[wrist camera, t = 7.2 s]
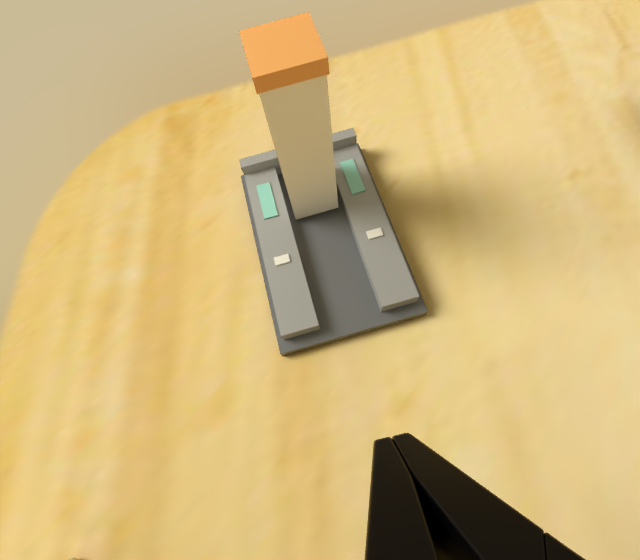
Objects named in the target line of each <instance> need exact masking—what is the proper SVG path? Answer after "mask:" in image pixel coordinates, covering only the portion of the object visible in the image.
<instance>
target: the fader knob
mask: <svg viewBox="0 0 640 560" xmlns="http://www.w3.org/2000/svg"><path fill="white" fill-rule="evenodd" d="M239 32H240V36H241V39H242V43H243V47H244V50H245V54H246V57H247V60H248V64H249V68H250V72H251V75H252V79H253V82H254V85H255V89H256V92H257V94H259V95H260V98H261V101H262V105H263V108H264V112H265V115H266V119H267V122H268V126H269V129H270V133H271V136H272V140H273V143H274V146H275V150H276V153H277V157H278V160H279V164H280V167H281V171H282V174H283V178H284V181H285V184H286V188H287V191H288V195H289V198H290V202H291V205H292V209H293V212H294V216H295V219H296V220H297V219H300V218H304V217H307V216H311V215H314V214H318V213H321V212H325V211H328V210H332V209H336V208H338V197H337V185H336V174H335V163H334V151H333V140H332V129H331V118H330V106H329V95H328V84H327V75H328V74H329V64H328V56H327V54H326V52H325V49H324V47H323V44H322V42H321V40H320V37H319V35H318V33H317V30H316V28H315V26H314V23H313V21H312V19H311V16H310V14H309V12H307V13H303V14H299V15H296V16H292V17H289V18H285V19H281V20H277V21H274V22H270V23H267V24H263V25H259V26H255V27H252V28H248V29H245V30H241V31H239Z"/></svg>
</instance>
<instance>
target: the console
mask: <svg viewBox="0 0 640 560" xmlns="http://www.w3.org/2000/svg"><path fill="white" fill-rule="evenodd" d="M332 140H333V151H334V163H335V174H336V185H337V197H338V208H336V209H332V210H328V211H325V212H321V213H318V214H314V215H311V216H307V217H304V218H300V219H297V220H296V219H295V216H294V212H293V209H292V205H291V202H290V198H289V195H288V191H287V188H286V184H285V181H284V178H283V174H282V171H281V167H280V164H279V160H278V157H277V153H276V150H272V151H268V152H265V153H261V154H257V155H254V156H250V157H247V158H243V159H239V161H240V166H241V169H242V171H243V173H244V175H243V176H241V179H242V183H243V188H244V192H245V197H246V201H247V206H248V210H249V215H250V219H251V224H252V228H253V233H254V237H255V242H256V246H257V251H258V255H259V260H260V264H261V269H262V273H263V278H264V282H265V287H266V291H267V296H268V300H269V305H270V309H271V314H272V318H273V323H274V327H275V332H276V336H277V341H278V345H279V350H280V354H281V355H282V356H284V355H287V354H291V353H294V352H298V351H301V350H305V349H308V348H312V347H315V346H318V345H322V344H325V343H329V342H332V341H336V340H339V339H343V338H346V337H350V336H353V335H357V334H360V333H363V332H367V331H370V330H374V329H377V328H381V327H384V326H388V325H391V324H395V323H398V322H402V321H405V320H408V319H412V318H415V317H419V316H422V315H426V314H427V312H428V311H427V308H426V306H425V304H424V301H423V299H422V296H421V294H420V292H419V289H418V287H417V284H416V282H415V280H414V277H413V275H412V272H411V270H410V267H409V265H408V263H407V260H406V258H405V255H404V253H403V251H402V248H401V246H400V243H399V241H398V238H397V236H396V234H395V231H394V229H393V226H392V224H391V222H390V219H389V217H388V214H387V212H386V210H385V207H384V205H383V202H382V200H381V197H380V195H379V193H378V190H377V188H376V185H375V183H374V181H373V178H372V176H371V173H370V171H369V169H368V166H367V164H366V161H365V159H364V156H363V154H362V152H361V149H360V147H359V144H358V143H357V144H356V133H355V131H354V128H351V129H347V130H343V131H340V132H336V133H333V134H332Z"/></svg>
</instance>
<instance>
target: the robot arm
mask: <svg viewBox="0 0 640 560" xmlns="http://www.w3.org/2000/svg"><path fill="white" fill-rule="evenodd" d="M365 560H585V559H584V558H582V557H581V556H580V555H578V554H577V553H575V552H574V551H572V550H571V549H569V548H568V547H567V546H565V545H564V544H562V543H561V542H560V541H558V540H557V539H555V538H554V537H553V536H551V535H550V534H549V533H544V531H543V529H541V528H540V527H539V526H537V525H536V524H534V523H533V522H532V521H530V520H529V519H527V518H526V517H525V516H523V515H522V514H521V513H519V512H518V511H516V510H515V509H514V508H512V507H511V506H509V505H508V504H507V503H505V502H504V501H503V500H501V499H500V498H498V497H497V496H496V495H494V494H493V493H491V492H490V491H489V490H487V489H486V488H485V487H483V486H482V485H480V484H479V483H478V482H476V481H475V480H473V479H472V478H471V477H469V476H468V475H467V474H465V473H464V472H462V471H461V470H460V469H458V468H457V467H455V466H454V465H453V464H451V463H450V462H449V461H447V460H446V459H444V458H443V457H442V456H440V455H439V454H437V453H436V452H435V451H433V450H432V449H431V448H429V447H428V446H426V445H425V444H424V443H422V442H421V441H419V440H418V439H417V438H415V437H414V436H413V435H411V434H409V433H404V434H399V435H395V436H393V437H392V439H391V438H390V437H386V438H382V439H378V440H375V441H374V447H373V460H372V473H371V486H370V499H369V511H368V524H367V537H366V550H365Z"/></svg>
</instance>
